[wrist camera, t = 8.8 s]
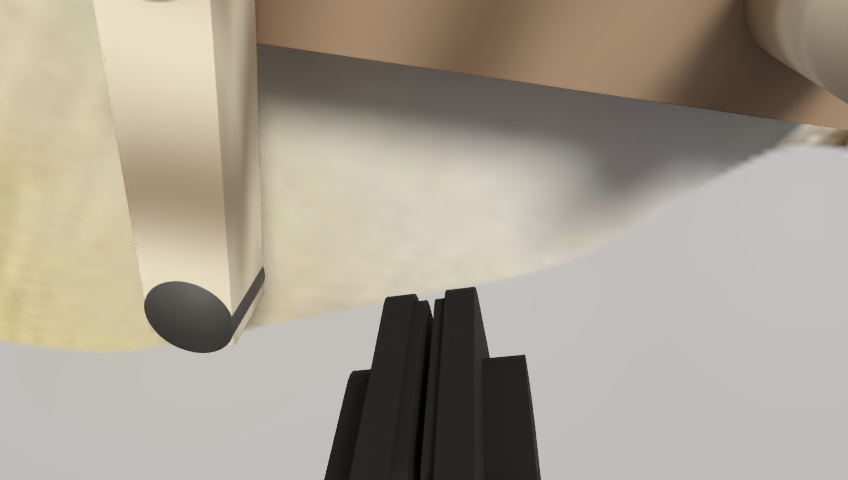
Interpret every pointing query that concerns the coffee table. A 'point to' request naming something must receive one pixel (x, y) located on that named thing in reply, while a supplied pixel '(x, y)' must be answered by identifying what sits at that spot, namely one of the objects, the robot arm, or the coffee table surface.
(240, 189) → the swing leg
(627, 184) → the coffee table surface
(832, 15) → the stool seat
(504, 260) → the coffee table surface
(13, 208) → the coffee table surface
